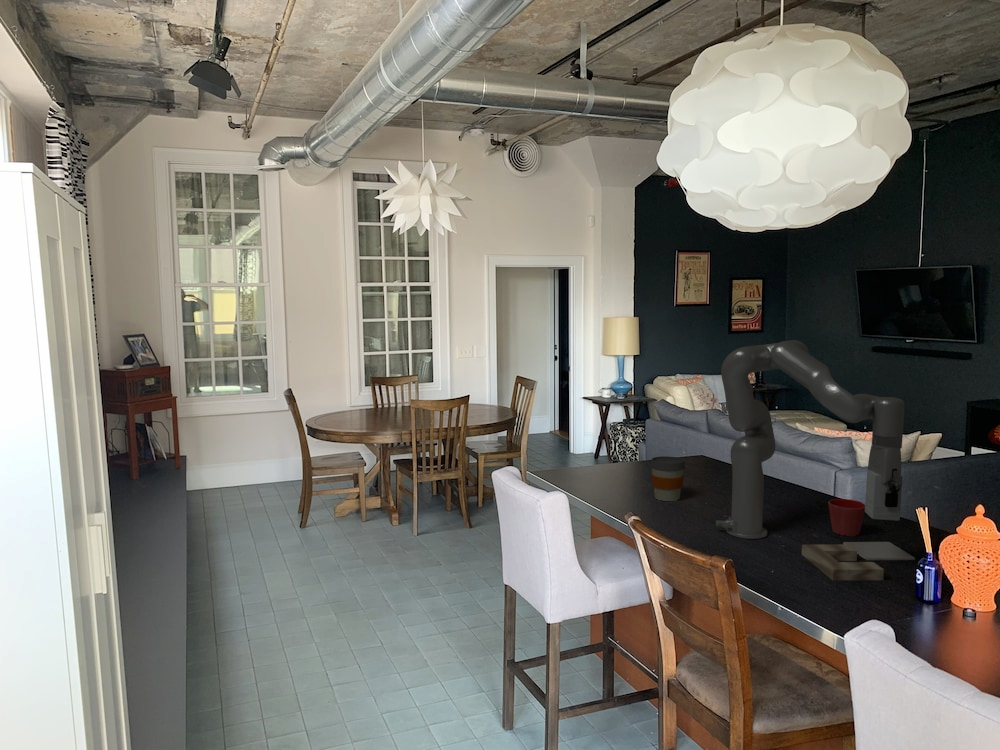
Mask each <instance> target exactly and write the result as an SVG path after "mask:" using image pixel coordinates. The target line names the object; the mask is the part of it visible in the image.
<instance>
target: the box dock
mask: <svg viewBox="0 0 1000 750" xmlns="http://www.w3.org/2000/svg"><path fill="white" fill-rule="evenodd" d="M801 555H802V556H803V557H804V558H805V559H806V560H808V561H809V562H810V563H811V564H812V565H813V566H815V567H816V568H817V569H818V570H819V571H821V572H822V573H823V574H824V575H826V576H827V577H828V578H829V579H830V580H831V581H833V582H834V581H884V576H885V575H884V573H885V569H884V568H883V567H881V566H880V565H879V564H878V563H875V562H874V561H858V559H857V558H858V554H857V550H855V549H854V548H852V547H851V546H850V545H848V544H843V543H842V544H840V543H839V544H835V543H834V544H831V543H830V544H801Z"/></svg>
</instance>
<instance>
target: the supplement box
mask: <svg viewBox="0 0 1000 750" xmlns="http://www.w3.org/2000/svg"><path fill="white" fill-rule="evenodd" d="M903 477H904V476H902V475H901V480H902V481H903ZM880 481H881V475H879V474H876V473H875V472H872V471H870V470H868V469H867V470H866V484H865V486H866V487H865V503H864V504H865V513H866V514H867V516H869V517H870V518H871V519H872V520H885V521H900V520H901V508H902V507H901V505H902V493H903V492H902V490H903V489H902V488H903V484H902V485H901V488H900V490H899V494H898V504H897V507H886V506H885V494H886V493H887V489H886V483H885V484H882V483H881V482H880ZM889 482H895V481H894V479H893V477H892V476H891V478H890V480H889ZM893 485H895V484H893ZM893 485H890V488H891V487H892V486H893Z"/></svg>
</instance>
